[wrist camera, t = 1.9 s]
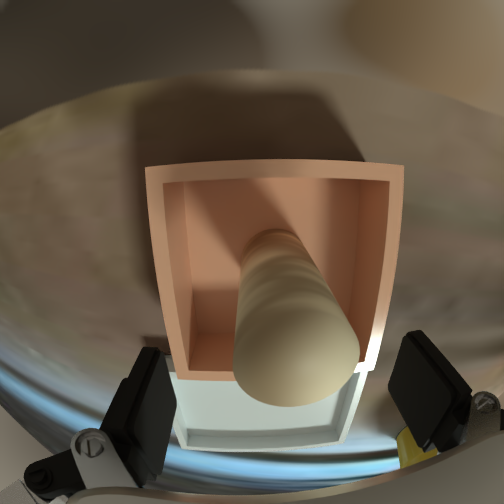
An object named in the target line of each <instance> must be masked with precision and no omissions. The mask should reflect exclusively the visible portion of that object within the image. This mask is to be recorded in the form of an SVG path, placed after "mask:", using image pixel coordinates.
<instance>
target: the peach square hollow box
mask: <svg viewBox="0 0 504 504" xmlns="http://www.w3.org/2000/svg"><path fill="white" fill-rule="evenodd" d="M145 176H146V190H147V202H148V213H149V223H150V232H151V240H152V248H153V255H154V263H155V269H156V276H157V282H158V288H159V294H160V300H161V305H162V311H163V316H164V321H165V326H166V331H167V336H168V340H169V345H170V349H171V354H172V358H173V362H174V367H175V371H176V375H177V379H180V380H200V381H236V379H235V377H234V374H233V351H234V339H235V327H236V316H237V304H238V293H239V282H240V271H241V260H242V253H243V250H244V248H245V246H246V244H247V242H248V241H249V240H250V239H251V238H252V237H253V236H254V235H256V234H257V233H259V232H261V231H264V230H267V229H283V230H286V231H289V232H291V233H293V234H294V235H296V236H297V237H298V238H299V239H300V240H301V242H302V243H303V245H304V246H305V248H306V250H307V251H308V253H309V255H310V256H311V258H312V260H313V261H314V263H315V265H316V266H317V268H318V270H319V271H320V273H321V275H322V276H323V278H324V280H325V281H326V283H327V285H328V287H329V288H330V290H331V292H332V293H333V295H334V297H335V299H336V300H337V302H338V304H339V306H340V307H341V309H342V311H343V313H344V314H345V316H346V318H347V320H348V321H349V323H350V325H351V327H352V329H353V330H354V332H355V334H356V336H357V339H358V341H359V346H360V356H359V361H358V364H357V367H356V369H355V371H354V373H356V372H362V371H369V370H374V366H375V363H376V359H377V356H378V352H379V348H380V344H381V340H382V336H383V332H384V327H385V323H386V318H387V314H388V309H389V304H390V299H391V293H392V288H393V282H394V276H395V269H396V263H397V255H398V247H399V239H400V229H401V218H402V204H403V185H404V166H403V165H393V164H382V163H370V162H356V161H338V160H309V159H257V160H228V161H209V162H195V163H182V164H171V165H161V166H152V167H145Z"/></svg>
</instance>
